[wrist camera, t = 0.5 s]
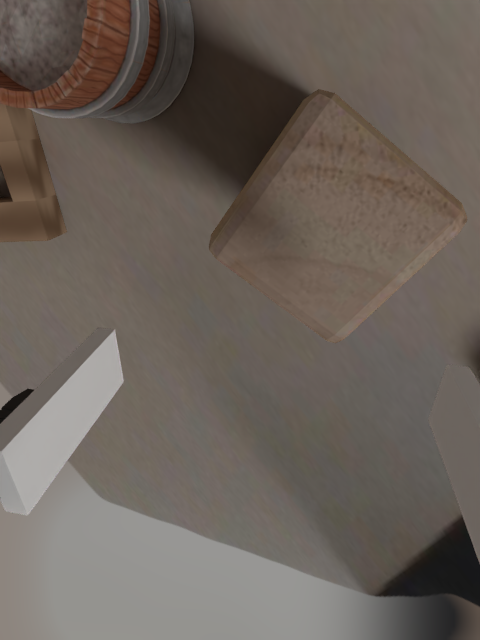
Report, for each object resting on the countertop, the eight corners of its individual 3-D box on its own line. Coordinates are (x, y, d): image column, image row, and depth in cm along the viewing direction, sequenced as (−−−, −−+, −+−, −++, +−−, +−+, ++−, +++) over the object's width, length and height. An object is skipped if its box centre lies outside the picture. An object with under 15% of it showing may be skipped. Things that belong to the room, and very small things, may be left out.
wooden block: (327, 251, 40) (336, 355, 22) (251, 191, 38) (197, 253, 21) (401, 169, 35) (484, 221, 18) (317, 97, 33) (318, 76, 16)
